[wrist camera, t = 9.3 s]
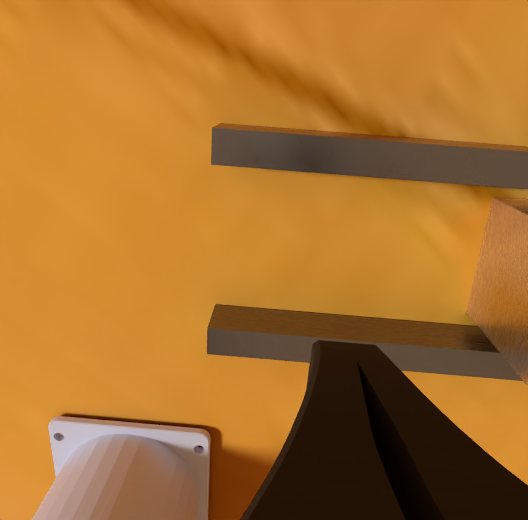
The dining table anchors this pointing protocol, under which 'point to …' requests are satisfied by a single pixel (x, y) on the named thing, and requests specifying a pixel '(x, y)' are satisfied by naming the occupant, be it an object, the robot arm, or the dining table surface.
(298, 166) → the guide rails
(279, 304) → the dining table surface
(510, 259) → the lock block
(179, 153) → the dining table surface
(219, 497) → the dining table surface
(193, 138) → the dining table surface
